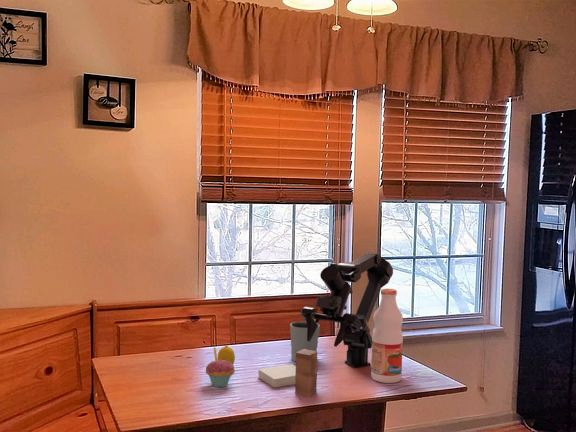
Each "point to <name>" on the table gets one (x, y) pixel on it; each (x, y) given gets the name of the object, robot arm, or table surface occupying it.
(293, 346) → the grey cup
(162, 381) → the table surface
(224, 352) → the lemon
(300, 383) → the brown wooden block
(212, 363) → the cupcake
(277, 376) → the plate
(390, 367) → the fruit juice
